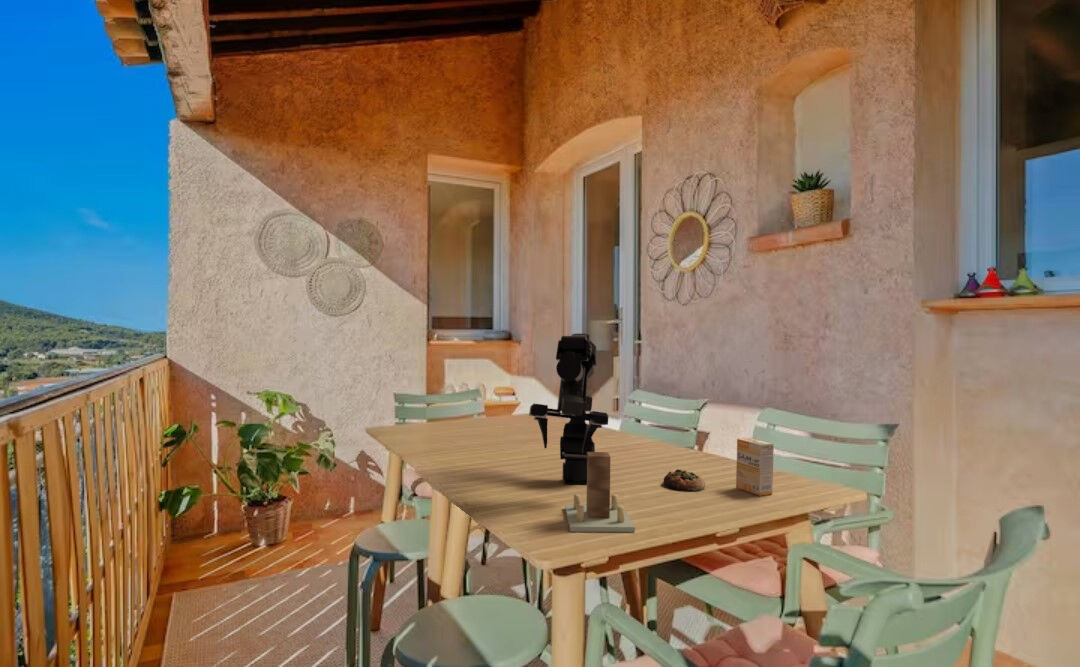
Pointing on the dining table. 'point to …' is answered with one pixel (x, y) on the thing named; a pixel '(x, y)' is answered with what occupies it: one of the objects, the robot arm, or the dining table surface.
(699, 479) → the bread roll
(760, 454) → the supplement box
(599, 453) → the walnut block
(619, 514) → the pin plate
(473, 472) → the dining table surface
